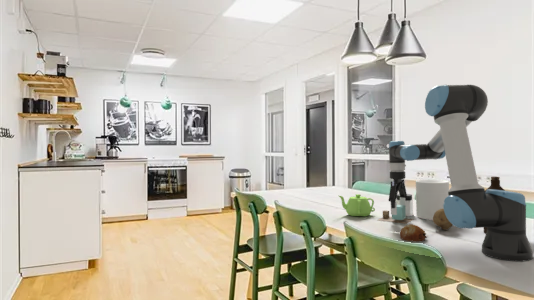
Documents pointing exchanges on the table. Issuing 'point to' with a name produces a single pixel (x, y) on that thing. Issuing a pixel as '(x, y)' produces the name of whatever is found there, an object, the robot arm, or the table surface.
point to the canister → (430, 197)
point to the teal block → (400, 213)
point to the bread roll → (412, 233)
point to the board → (395, 221)
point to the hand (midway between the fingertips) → (398, 212)
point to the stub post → (385, 214)
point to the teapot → (358, 206)
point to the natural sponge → (441, 220)
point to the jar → (407, 204)
